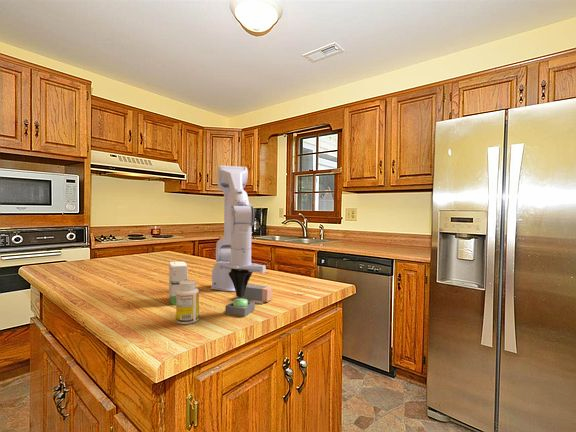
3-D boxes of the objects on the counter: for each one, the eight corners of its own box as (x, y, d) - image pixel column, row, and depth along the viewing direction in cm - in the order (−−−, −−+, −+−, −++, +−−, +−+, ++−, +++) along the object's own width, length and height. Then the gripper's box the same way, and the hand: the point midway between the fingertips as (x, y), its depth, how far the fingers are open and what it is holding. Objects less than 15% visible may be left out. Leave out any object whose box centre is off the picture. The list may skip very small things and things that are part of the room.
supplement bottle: (191, 315, 83) (191, 278, 83) (203, 320, 80) (203, 281, 79) (171, 321, 79) (172, 281, 79) (183, 327, 75) (183, 285, 75)
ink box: (188, 303, 94) (188, 264, 93) (170, 305, 91) (171, 266, 91) (184, 296, 101) (184, 260, 101) (168, 297, 99) (168, 261, 99)
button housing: (225, 313, 85) (225, 305, 85) (236, 307, 91) (236, 299, 91) (244, 316, 83) (244, 308, 83) (254, 309, 89) (254, 302, 89)
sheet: (237, 301, 97) (237, 299, 97) (248, 295, 104) (248, 293, 104) (262, 304, 94) (262, 303, 94) (271, 298, 101) (271, 296, 101)
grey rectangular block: (238, 297, 99) (238, 286, 99) (244, 294, 102) (244, 283, 102) (267, 301, 95) (267, 289, 95) (272, 298, 99) (272, 286, 99)
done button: (230, 311, 86) (230, 301, 86) (237, 307, 90) (237, 297, 89) (243, 313, 84) (243, 303, 84) (249, 309, 88) (250, 299, 88)
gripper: (210, 248, 85) (210, 296, 86) (258, 251, 80) (257, 303, 81) (224, 245, 92) (224, 290, 92) (269, 248, 87) (268, 296, 87)
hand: (240, 296), depth 87 cm, fingers closed
